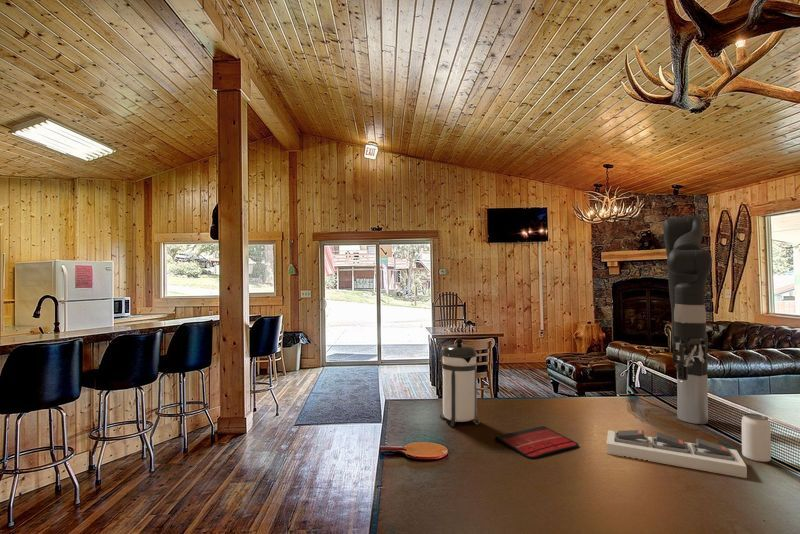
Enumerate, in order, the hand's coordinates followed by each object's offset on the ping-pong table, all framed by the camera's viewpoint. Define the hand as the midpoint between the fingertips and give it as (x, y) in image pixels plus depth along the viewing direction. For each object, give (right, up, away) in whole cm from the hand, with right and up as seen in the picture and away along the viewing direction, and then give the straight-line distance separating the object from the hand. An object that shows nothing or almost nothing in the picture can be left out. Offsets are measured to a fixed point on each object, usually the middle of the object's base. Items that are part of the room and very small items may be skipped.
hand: (690, 377), depth 122 cm
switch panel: (-4, -24, +4) cm, 24 cm away
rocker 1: (-12, -19, +8) cm, 24 cm away
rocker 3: (+5, -19, -1) cm, 20 cm away
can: (+21, -24, +3) cm, 32 cm away
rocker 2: (-4, -19, +4) cm, 20 cm away
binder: (-39, -25, +13) cm, 48 cm away
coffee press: (-61, -25, +35) cm, 75 cm away
